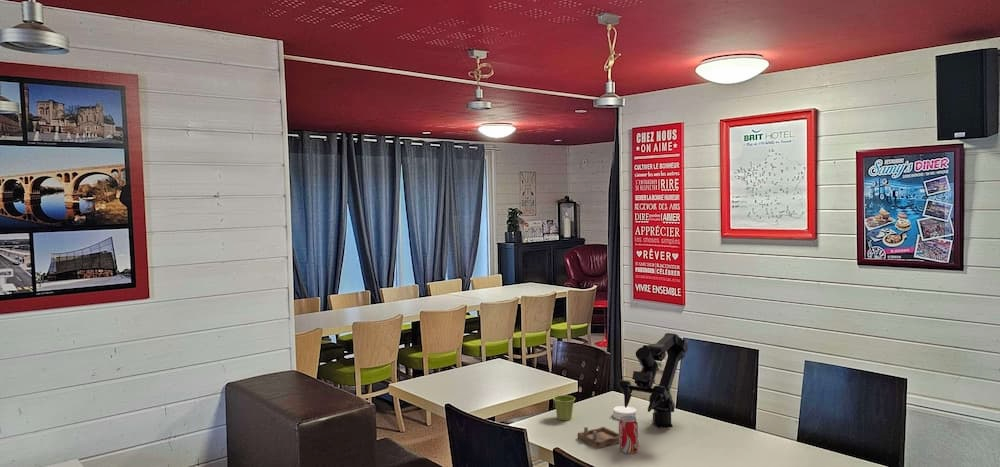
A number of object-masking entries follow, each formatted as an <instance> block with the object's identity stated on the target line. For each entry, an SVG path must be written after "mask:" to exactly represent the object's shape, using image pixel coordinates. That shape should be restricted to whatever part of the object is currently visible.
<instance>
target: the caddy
mask: <svg viewBox="0 0 1000 467" xmlns="http://www.w3.org/2000/svg"><path fill="white" fill-rule="evenodd" d="M583 428H584V429H583V430H584V431H579V432H577V439H578V440H580V441H582V442H584V443H586V444H588V445H590V446H592V447H594V448H596V449H601V448H604V447H610V446H613V445H615V444H616V445H617V444H619V432H616V431H614V430H612V429H610V428H608V427H605V426H601V427H597V428H593V429H589V427H588V426H585V427H583Z"/></svg>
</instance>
